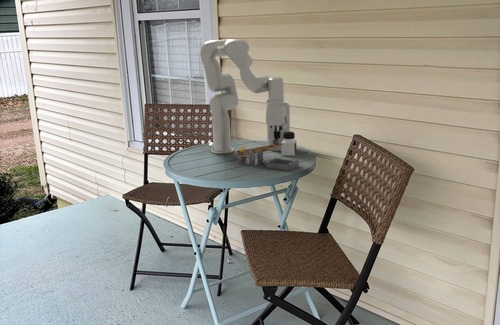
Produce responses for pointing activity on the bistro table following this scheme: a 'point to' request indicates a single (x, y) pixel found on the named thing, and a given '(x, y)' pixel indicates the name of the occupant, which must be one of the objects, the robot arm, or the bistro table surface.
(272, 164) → the tray
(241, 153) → the lever
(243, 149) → the ball
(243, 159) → the stand
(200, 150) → the bistro table surface
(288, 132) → the medicine bottle
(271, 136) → the cylinder vase
